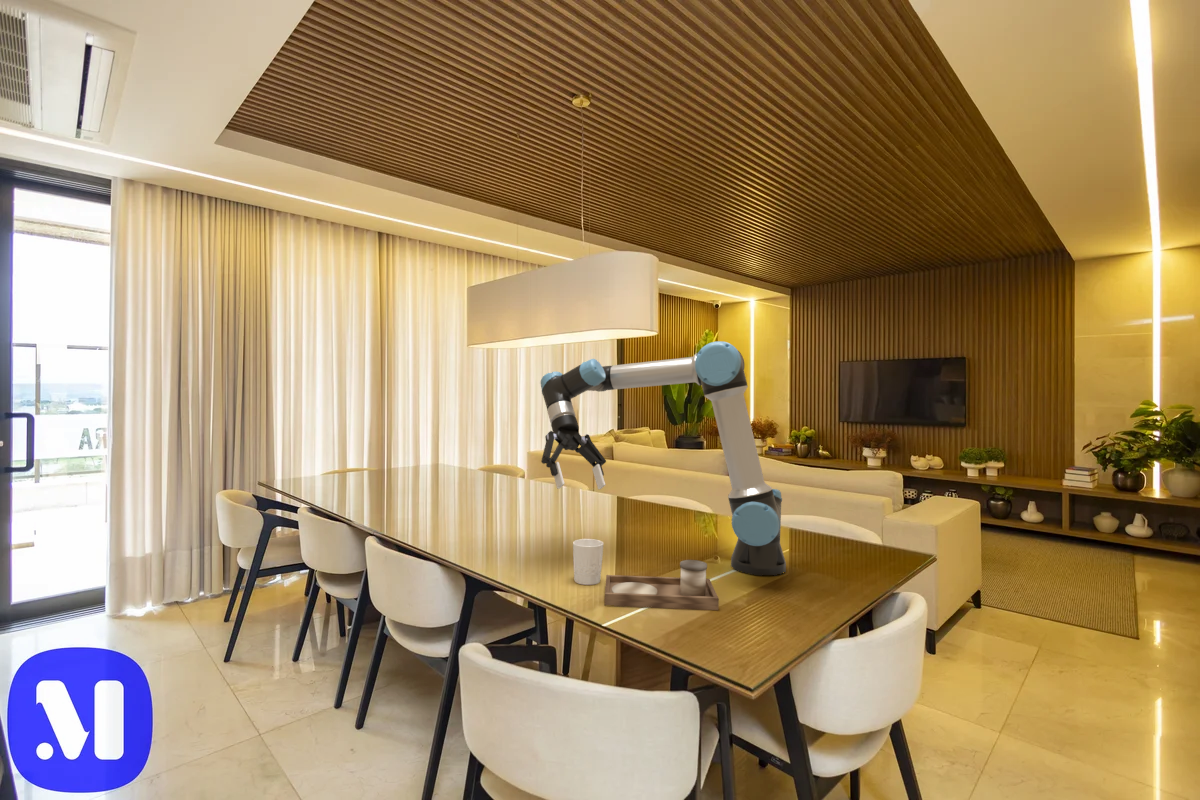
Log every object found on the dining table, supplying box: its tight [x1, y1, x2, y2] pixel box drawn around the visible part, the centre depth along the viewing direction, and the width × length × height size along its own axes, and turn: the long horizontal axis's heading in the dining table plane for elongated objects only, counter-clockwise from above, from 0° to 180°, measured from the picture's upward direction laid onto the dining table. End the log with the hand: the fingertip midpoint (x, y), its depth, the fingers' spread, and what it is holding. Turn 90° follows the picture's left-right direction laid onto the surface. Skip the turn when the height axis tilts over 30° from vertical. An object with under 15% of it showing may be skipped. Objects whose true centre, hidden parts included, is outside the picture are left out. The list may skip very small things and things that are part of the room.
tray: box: [604, 559, 720, 611], centre depth 138 cm, size 26×14×8 cm, turn 88°
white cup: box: [572, 538, 604, 586], centre depth 149 cm, size 8×8×10 cm
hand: (581, 486), depth 155 cm, fingers open, 13 cm apart
